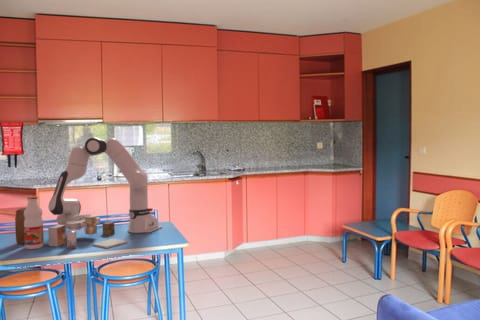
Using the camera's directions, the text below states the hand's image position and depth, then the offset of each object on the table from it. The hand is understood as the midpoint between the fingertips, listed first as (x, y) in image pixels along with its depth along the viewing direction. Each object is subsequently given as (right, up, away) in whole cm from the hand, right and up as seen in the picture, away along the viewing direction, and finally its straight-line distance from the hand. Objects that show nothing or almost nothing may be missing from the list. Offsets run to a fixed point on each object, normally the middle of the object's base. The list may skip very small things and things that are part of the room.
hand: (91, 224), depth 241 cm
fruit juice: (-27, -11, -13) cm, 32 cm away
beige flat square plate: (+13, -10, -8) cm, 19 cm away
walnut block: (+5, -8, +16) cm, 19 cm away
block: (-37, -10, -3) cm, 38 cm away
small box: (-16, -10, -8) cm, 21 cm away
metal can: (-6, -10, -15) cm, 19 cm away
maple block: (-1, -5, +1) cm, 6 cm away
